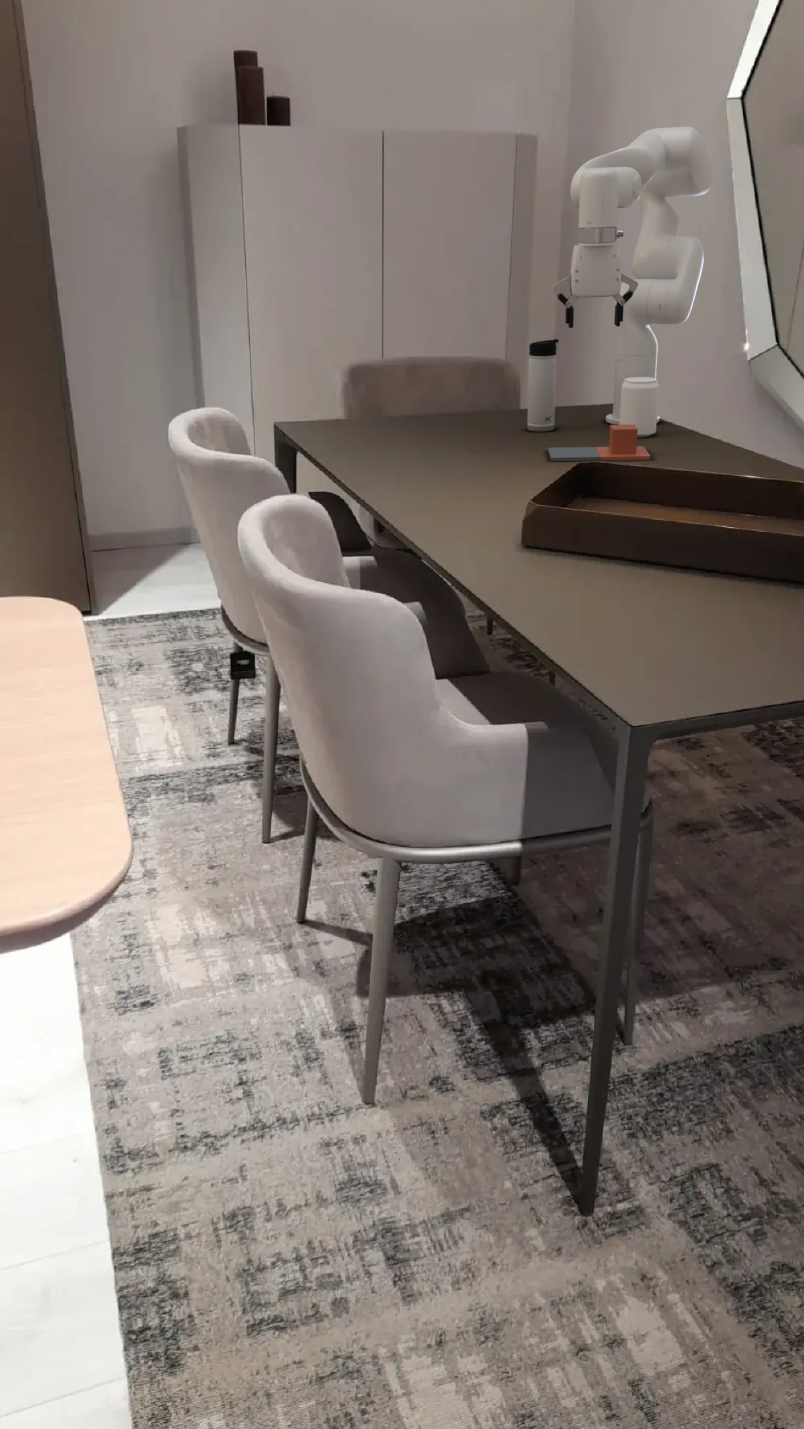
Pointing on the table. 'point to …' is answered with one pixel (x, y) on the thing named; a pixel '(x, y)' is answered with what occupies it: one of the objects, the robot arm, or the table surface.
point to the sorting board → (594, 454)
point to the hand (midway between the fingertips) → (593, 326)
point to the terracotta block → (623, 439)
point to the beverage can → (640, 404)
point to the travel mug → (542, 385)
